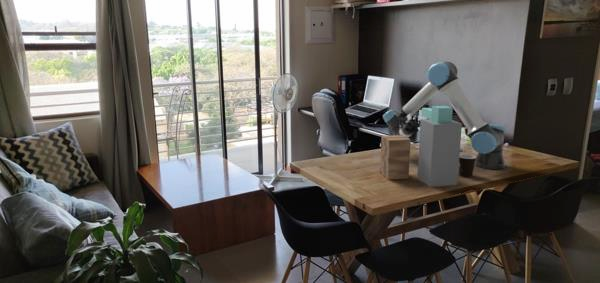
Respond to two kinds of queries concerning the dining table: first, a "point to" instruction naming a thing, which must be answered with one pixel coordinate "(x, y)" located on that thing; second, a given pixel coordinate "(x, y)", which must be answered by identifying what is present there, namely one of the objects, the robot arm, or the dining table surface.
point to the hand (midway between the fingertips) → (423, 115)
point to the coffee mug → (466, 165)
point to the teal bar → (438, 114)
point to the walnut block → (395, 156)
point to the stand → (439, 153)
